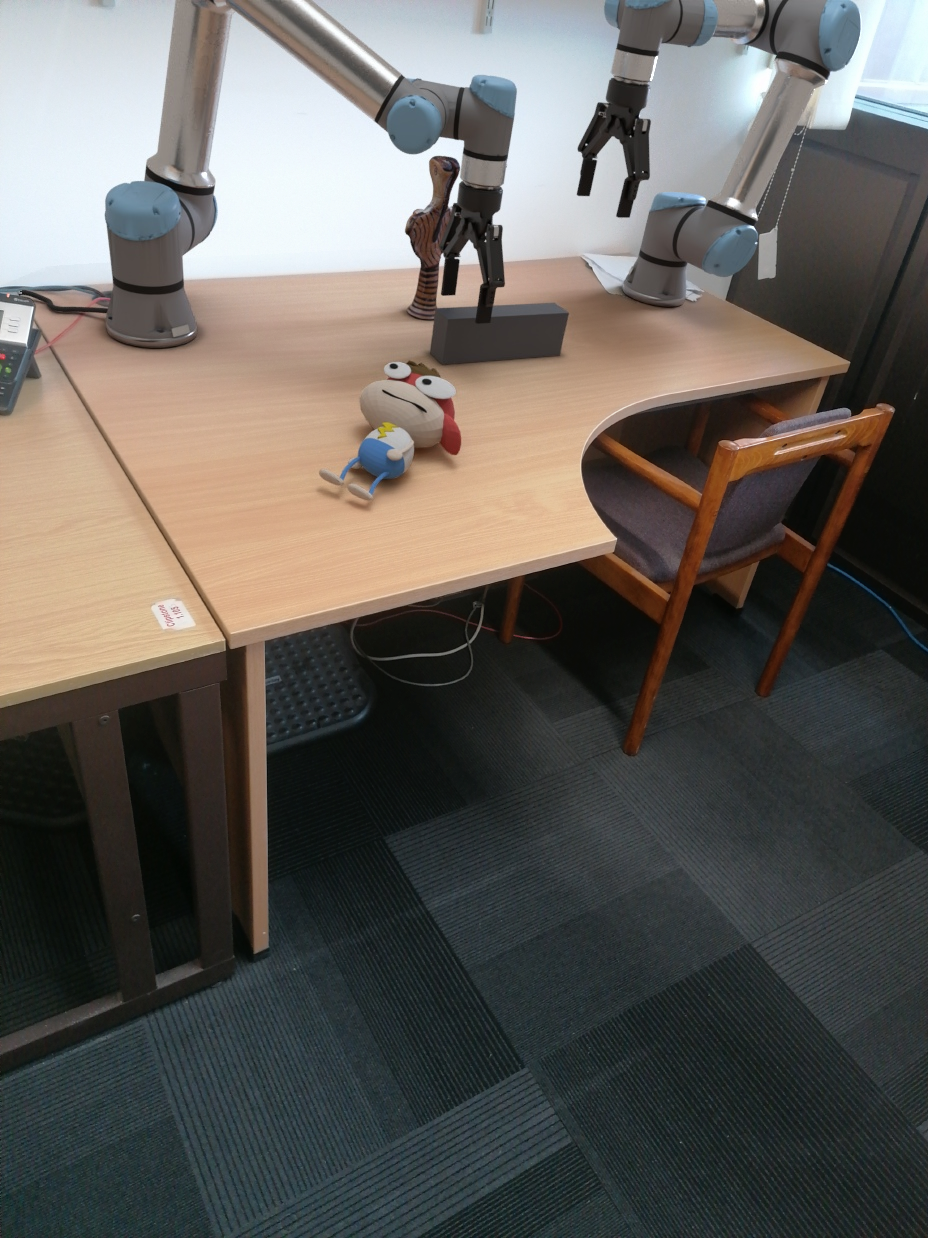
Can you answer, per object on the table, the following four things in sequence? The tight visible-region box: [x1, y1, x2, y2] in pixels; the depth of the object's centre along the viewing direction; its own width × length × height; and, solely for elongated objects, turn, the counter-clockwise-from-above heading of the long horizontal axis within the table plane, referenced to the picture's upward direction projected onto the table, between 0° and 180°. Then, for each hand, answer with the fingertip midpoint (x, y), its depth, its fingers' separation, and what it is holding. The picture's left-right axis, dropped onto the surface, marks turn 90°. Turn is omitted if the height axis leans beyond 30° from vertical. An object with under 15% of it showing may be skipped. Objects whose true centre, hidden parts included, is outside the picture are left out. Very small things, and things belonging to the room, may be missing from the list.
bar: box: [429, 302, 570, 365], centre depth 170 cm, size 26×5×9 cm, turn 118°
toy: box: [318, 360, 462, 502], centre depth 133 cm, size 18×10×30 cm
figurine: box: [404, 155, 461, 320], centre depth 174 cm, size 15×8×30 cm, turn 144°
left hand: (464, 308), depth 163 cm, fingers open, 13 cm apart
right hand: (602, 206), depth 172 cm, fingers open, 13 cm apart
